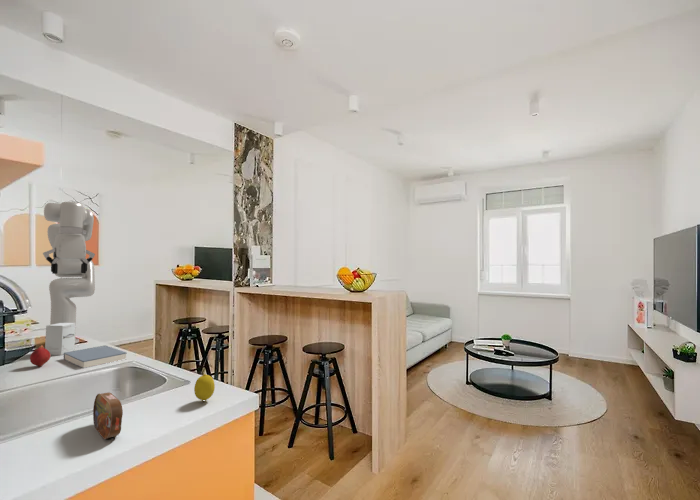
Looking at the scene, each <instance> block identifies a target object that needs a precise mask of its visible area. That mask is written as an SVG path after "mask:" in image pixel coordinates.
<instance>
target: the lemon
mask: <svg viewBox="0 0 700 500" xmlns="http://www.w3.org/2000/svg"><path fill="white" fill-rule="evenodd" d="M215 385H216V384H215V380H214V379H213V377H212V376H211V375H209V374H206V373H204V374H203V375H201V376H199V377H198V378H197V379H196V381H195V384H194V395H195V397H196V398H197V399H198V400H200V401H202V400H206V401H207V400H208V399H210V398H212V396H213V394H214V392H215V388H216V386H215Z"/></svg>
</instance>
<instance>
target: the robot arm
mask: <svg viewBox="0 0 700 500" xmlns="http://www.w3.org/2000/svg"><path fill="white" fill-rule="evenodd" d="M43 216H44V219H45V220H46V221H47V222H53V224H50V225H48V227H47V231H46V232H47V238H48V242H49V244H50V246H51V249H49V250H46V251H44V252H42V255H43V257H44V258H45V260H46V261H47V262H49V264H50V272H51V273H52V274H53V275H54V276H56V277H58V278H55V279H53V280H51V281H50V283H49V285H48V290H49V296H50V320H49V321H50V322H49V323H50V324H49V325H52V324H57V323H77V306H76V304H75V302H74V301H72V300H71V298H87V297H92V296H93V295H94V293H95V290H96V280H95V279H96V278H95V277H96V276H95V264H94V262H93V258H95V256H96V254H95V253H94V252H92V251H90V250H88V249H87V245H86V242H87V241H90V240H91V238H92V236H93V228H94V222H95V219H94V217H95V216H94V213H93V212H92V210H90V209H88V208H85V207H84V205H83V204H82V203H79V202H75V201H63V202H61V203H59V202H48V203H46V204H45V206H44V208H43ZM50 254H52V257H53V258H52V257H51V256H50ZM87 255H89V257H87ZM76 328H77V327H76V324H75V331H76ZM44 338H45V339H46V336H45V337H44ZM79 342H80V339H79V338H76V337H75V344H78V343H79Z"/></svg>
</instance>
